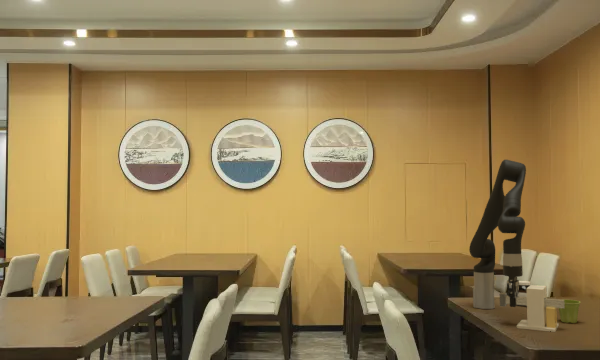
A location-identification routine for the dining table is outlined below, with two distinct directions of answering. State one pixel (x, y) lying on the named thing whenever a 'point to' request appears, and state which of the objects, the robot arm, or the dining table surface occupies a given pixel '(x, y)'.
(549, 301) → the shaft
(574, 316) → the plant pot
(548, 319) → the block
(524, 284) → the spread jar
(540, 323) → the bracket
